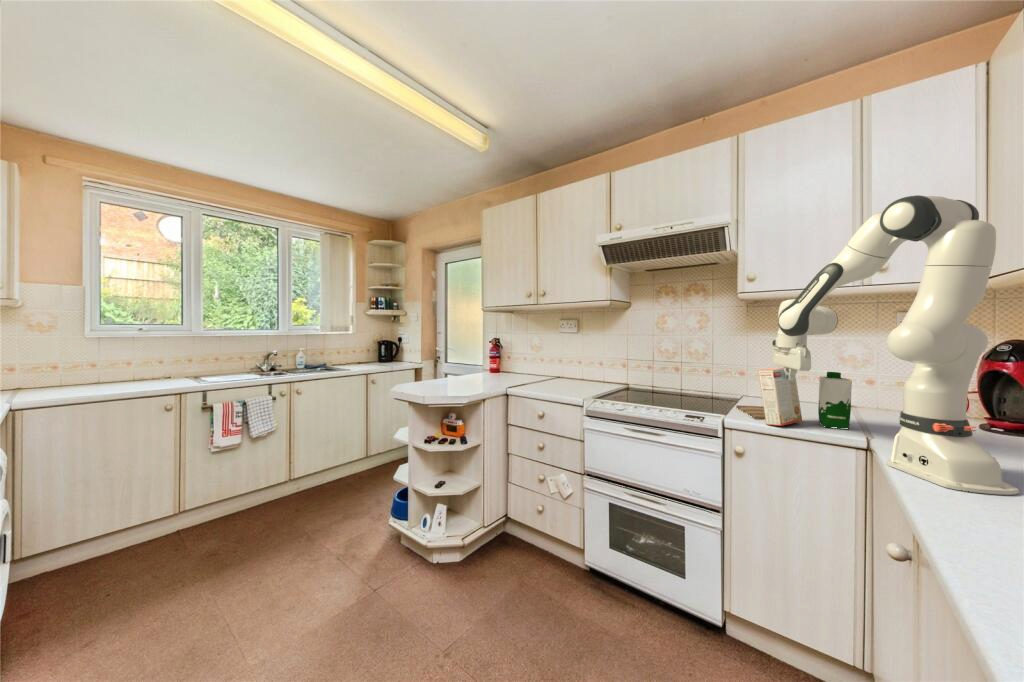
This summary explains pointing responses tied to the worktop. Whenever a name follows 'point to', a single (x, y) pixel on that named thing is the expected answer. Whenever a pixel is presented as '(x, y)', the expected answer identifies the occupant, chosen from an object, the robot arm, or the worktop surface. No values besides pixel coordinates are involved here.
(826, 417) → the milk carton
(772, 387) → the cracker box
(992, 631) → the worktop surface
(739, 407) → the walnut board
